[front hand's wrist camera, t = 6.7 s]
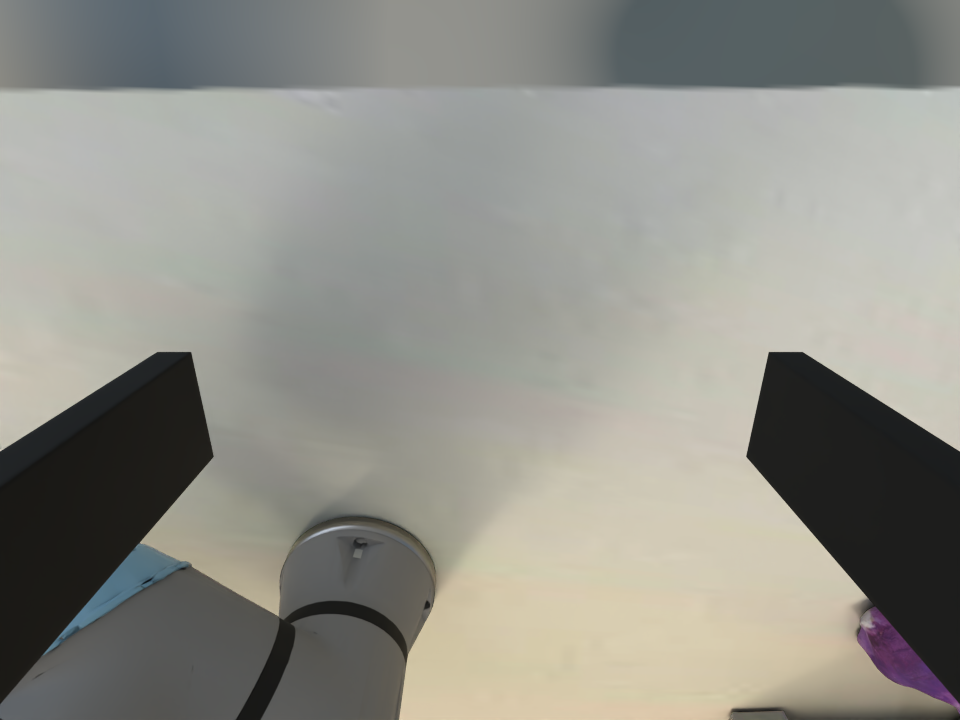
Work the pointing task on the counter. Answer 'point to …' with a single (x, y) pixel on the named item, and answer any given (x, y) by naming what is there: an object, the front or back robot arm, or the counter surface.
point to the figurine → (898, 657)
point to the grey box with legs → (759, 715)
